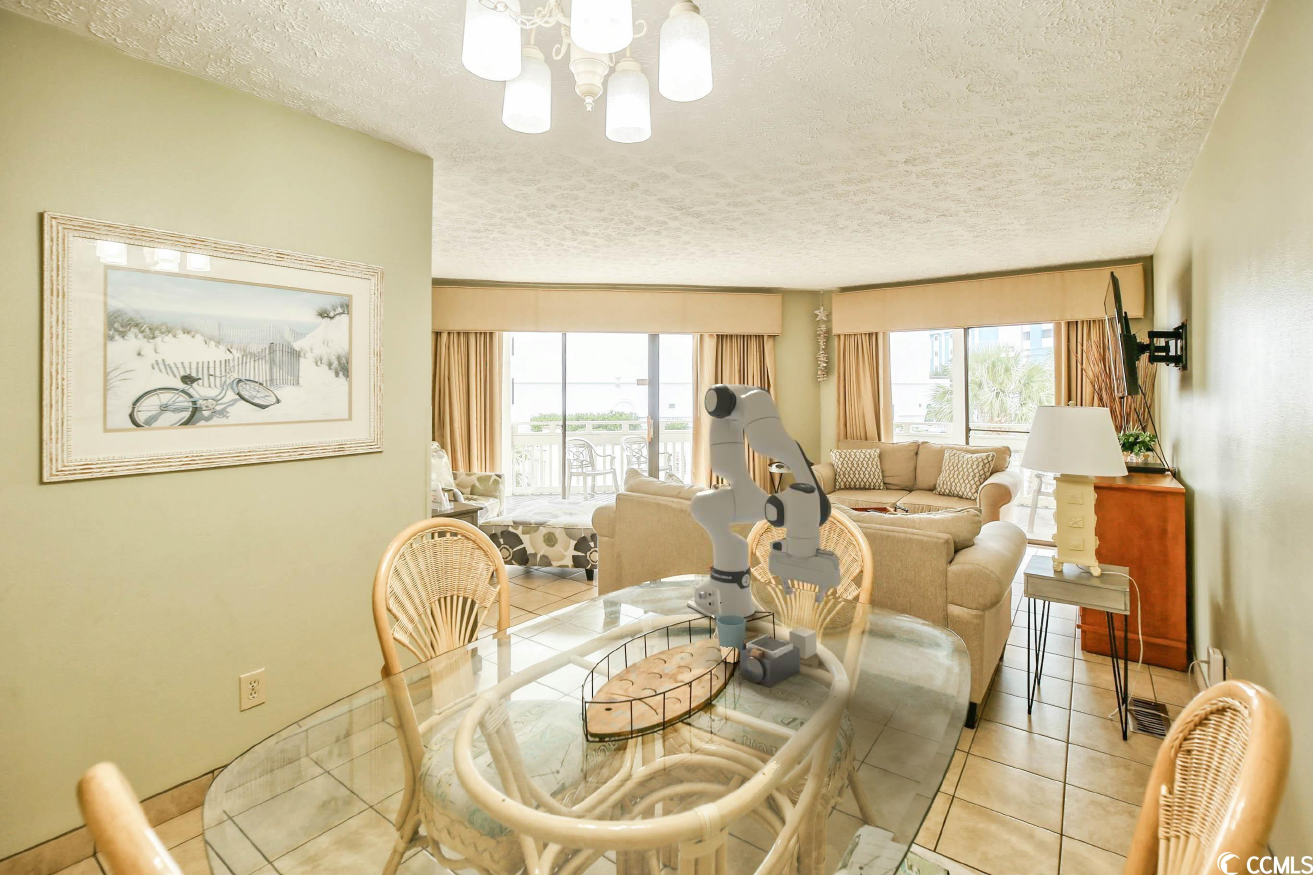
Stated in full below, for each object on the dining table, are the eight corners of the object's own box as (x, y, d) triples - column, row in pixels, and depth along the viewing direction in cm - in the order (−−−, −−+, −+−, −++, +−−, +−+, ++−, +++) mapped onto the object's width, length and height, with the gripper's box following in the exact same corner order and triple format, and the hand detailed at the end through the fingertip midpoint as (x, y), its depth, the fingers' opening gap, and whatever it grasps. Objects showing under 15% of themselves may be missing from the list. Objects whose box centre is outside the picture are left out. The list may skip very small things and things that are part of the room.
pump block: (789, 653, 163) (789, 631, 163) (803, 646, 168) (803, 624, 167) (805, 659, 160) (805, 636, 159) (819, 651, 164) (819, 629, 163)
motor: (737, 676, 151) (737, 646, 150) (772, 658, 160) (772, 630, 159) (767, 688, 144) (767, 657, 143) (801, 669, 153) (801, 640, 153)
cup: (736, 668, 155) (736, 627, 154) (711, 660, 160) (710, 621, 159) (751, 657, 161) (751, 618, 160) (727, 650, 166) (726, 612, 165)
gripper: (845, 550, 155) (845, 603, 156) (778, 538, 170) (779, 587, 171) (831, 554, 151) (832, 609, 152) (764, 542, 166) (765, 592, 167)
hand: (803, 597), depth 162 cm, fingers open, 8 cm apart
